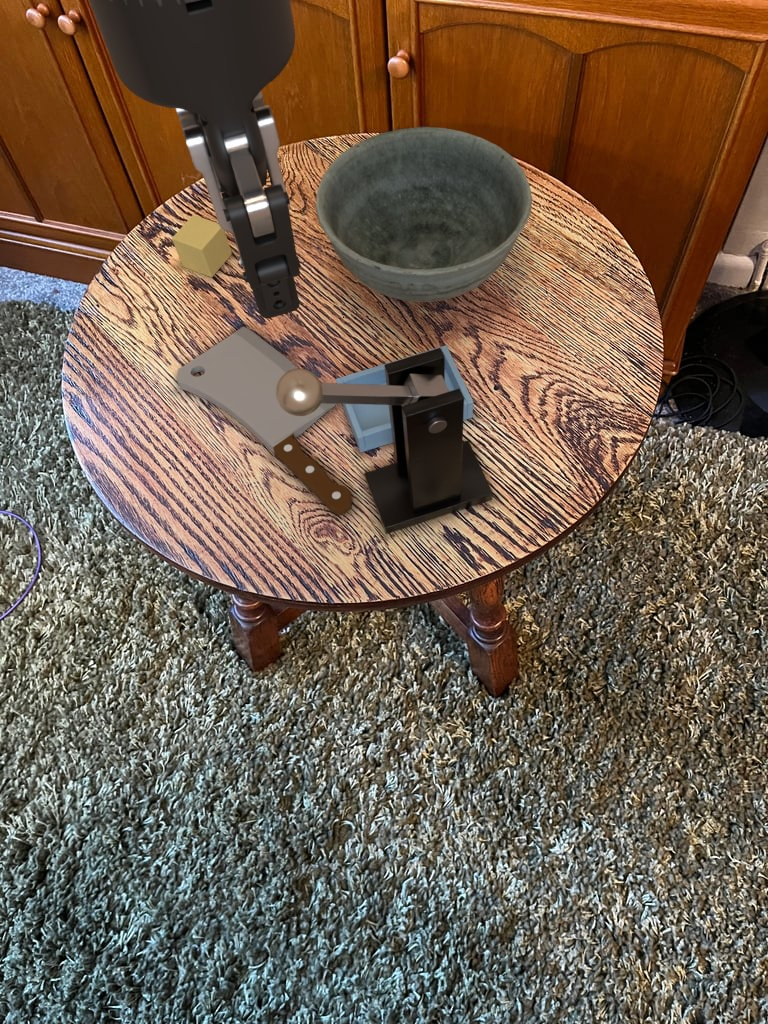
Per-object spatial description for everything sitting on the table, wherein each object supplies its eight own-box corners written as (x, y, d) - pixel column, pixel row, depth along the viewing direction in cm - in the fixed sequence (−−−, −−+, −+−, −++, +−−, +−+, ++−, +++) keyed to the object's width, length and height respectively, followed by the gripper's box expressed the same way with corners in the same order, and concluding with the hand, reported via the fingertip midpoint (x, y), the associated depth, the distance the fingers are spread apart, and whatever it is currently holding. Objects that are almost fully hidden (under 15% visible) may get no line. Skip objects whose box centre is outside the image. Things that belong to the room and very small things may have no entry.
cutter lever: (276, 425, 52) (290, 393, 49) (265, 389, 53) (278, 357, 51) (438, 426, 58) (457, 398, 56) (423, 394, 60) (441, 365, 57)
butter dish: (360, 453, 72) (357, 438, 70) (338, 394, 75) (335, 378, 73) (472, 417, 73) (473, 401, 71) (446, 361, 76) (446, 344, 74)
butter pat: (211, 277, 84) (201, 249, 80) (182, 266, 85) (171, 238, 81) (232, 253, 85) (223, 224, 82) (203, 243, 86) (193, 214, 83)
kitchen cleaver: (405, 462, 70) (320, 527, 67) (405, 468, 71) (321, 532, 68) (247, 319, 80) (166, 370, 77) (249, 326, 81) (169, 377, 77)
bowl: (289, 291, 82) (270, 215, 73) (404, 178, 89) (399, 96, 80) (451, 377, 75) (451, 305, 66) (561, 247, 82) (575, 166, 73)
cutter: (385, 534, 68) (370, 434, 54) (365, 479, 70) (345, 370, 56) (492, 499, 68) (504, 392, 55) (468, 446, 71) (473, 331, 57)
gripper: (49, -132, 31) (179, 212, 46) (98, 66, 24) (231, 394, 39) (230, -175, 32) (299, 179, 47) (326, 7, 25) (371, 351, 40)
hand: (268, 276), depth 43 cm, fingers open, 4 cm apart
